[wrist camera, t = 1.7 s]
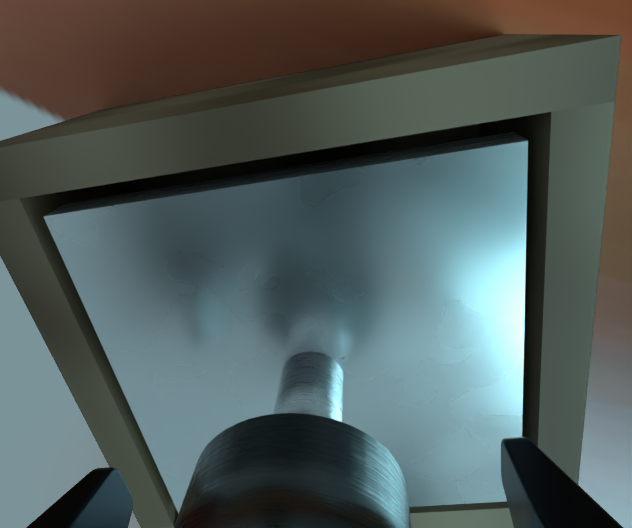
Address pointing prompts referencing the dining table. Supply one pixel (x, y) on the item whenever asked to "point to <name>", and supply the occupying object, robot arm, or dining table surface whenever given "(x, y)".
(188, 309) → the plunger
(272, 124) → the frame
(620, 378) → the dining table surface
